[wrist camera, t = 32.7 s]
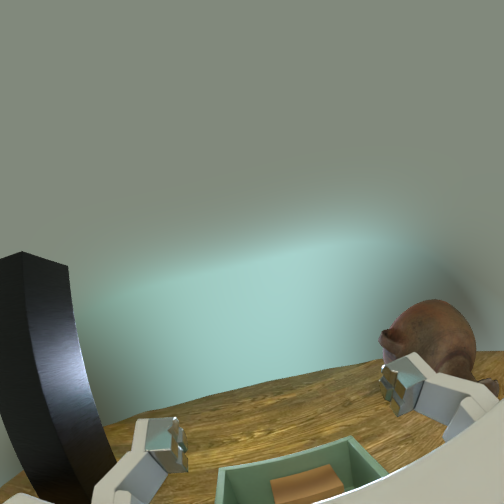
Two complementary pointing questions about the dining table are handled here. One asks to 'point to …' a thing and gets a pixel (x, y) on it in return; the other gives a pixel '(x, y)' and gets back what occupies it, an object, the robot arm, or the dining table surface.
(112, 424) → the dining table surface
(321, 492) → the mallet
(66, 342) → the stand
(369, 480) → the tray
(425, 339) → the jug
